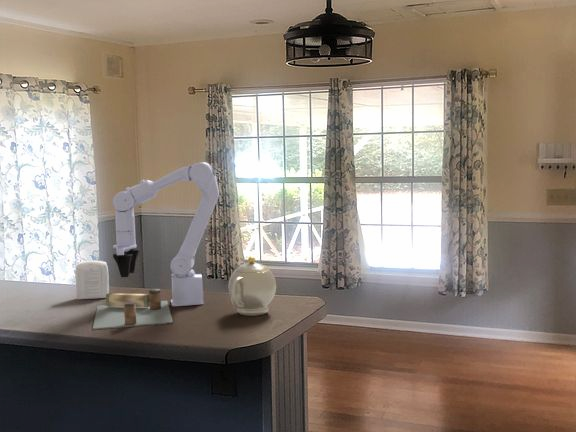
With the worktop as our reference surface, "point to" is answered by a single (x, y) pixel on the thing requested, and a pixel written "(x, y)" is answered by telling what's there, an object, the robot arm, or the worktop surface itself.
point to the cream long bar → (127, 299)
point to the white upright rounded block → (92, 279)
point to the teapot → (252, 288)
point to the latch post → (130, 313)
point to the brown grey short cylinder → (155, 299)
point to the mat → (144, 316)
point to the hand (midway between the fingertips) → (127, 274)
